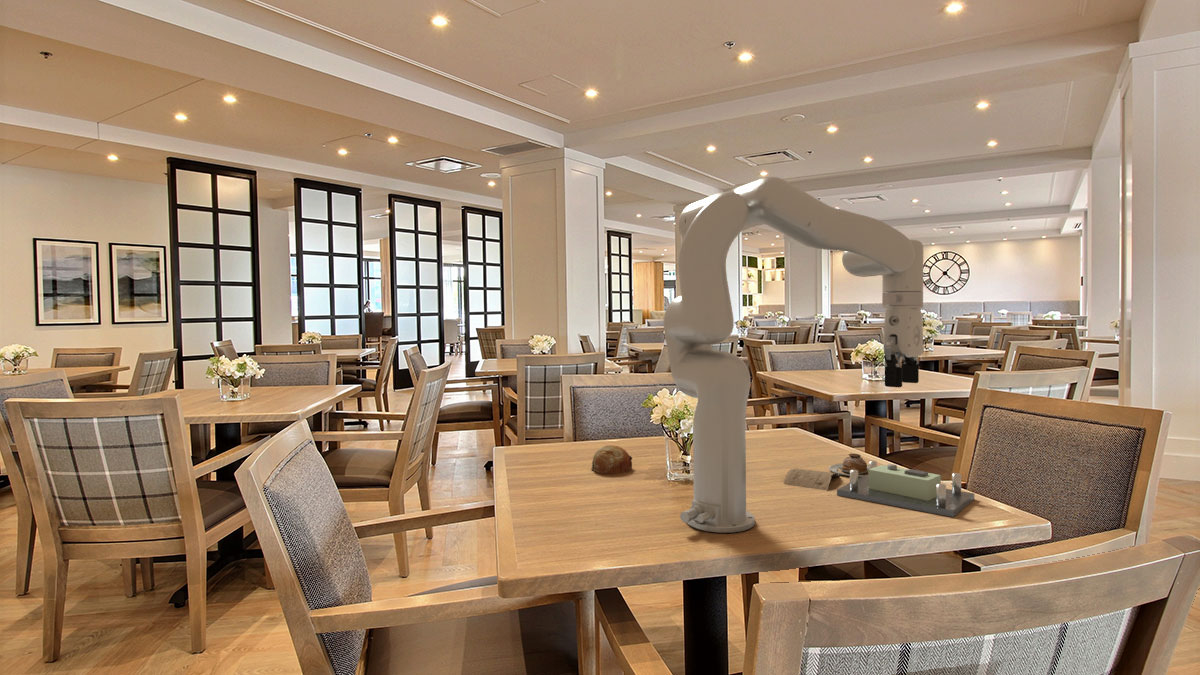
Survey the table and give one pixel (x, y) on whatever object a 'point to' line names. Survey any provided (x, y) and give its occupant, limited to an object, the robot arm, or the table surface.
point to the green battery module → (903, 481)
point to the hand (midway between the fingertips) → (901, 384)
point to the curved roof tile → (809, 478)
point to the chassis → (942, 504)
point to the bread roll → (611, 460)
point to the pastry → (851, 465)
